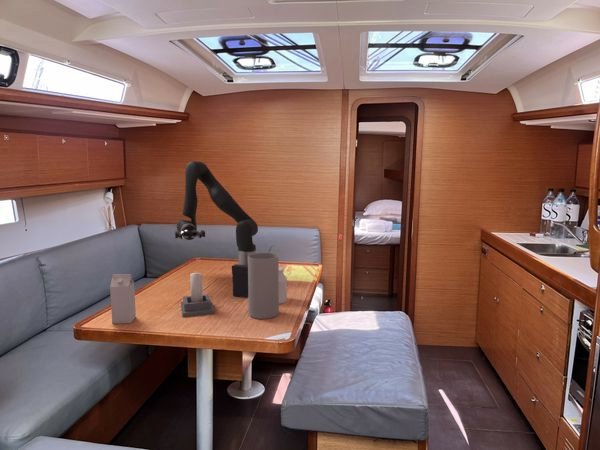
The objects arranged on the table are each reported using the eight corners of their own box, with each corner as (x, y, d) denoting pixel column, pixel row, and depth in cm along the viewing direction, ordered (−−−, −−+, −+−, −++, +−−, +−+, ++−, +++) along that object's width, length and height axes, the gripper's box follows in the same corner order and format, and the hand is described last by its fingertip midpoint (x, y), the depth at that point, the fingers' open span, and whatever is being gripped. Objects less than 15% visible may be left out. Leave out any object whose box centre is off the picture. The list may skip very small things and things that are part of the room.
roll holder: (210, 302, 198) (210, 292, 198) (214, 313, 183) (214, 303, 183) (180, 305, 195) (180, 295, 194) (182, 317, 179) (182, 306, 179)
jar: (260, 303, 197) (259, 270, 195) (263, 296, 207) (263, 265, 205) (285, 304, 196) (285, 271, 194) (288, 297, 206) (288, 266, 204)
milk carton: (118, 317, 179) (115, 272, 176) (135, 317, 179) (133, 272, 177) (112, 323, 172) (109, 276, 169) (130, 323, 172) (128, 276, 170)
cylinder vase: (281, 318, 178) (281, 258, 175) (251, 321, 175) (250, 260, 171) (274, 308, 190) (274, 252, 187) (246, 311, 187) (245, 253, 183)
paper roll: (202, 303, 192) (201, 272, 190) (203, 307, 187) (202, 275, 185) (190, 304, 190) (190, 273, 188) (191, 308, 186) (190, 276, 183)
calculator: (257, 296, 207) (256, 265, 205) (253, 298, 203) (252, 267, 201) (236, 294, 211) (235, 263, 209) (232, 296, 207) (231, 265, 205)
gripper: (174, 224, 220) (175, 229, 205) (202, 223, 225) (206, 228, 209) (174, 239, 221) (175, 245, 206) (203, 238, 226) (206, 243, 210)
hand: (191, 236), depth 208 cm, fingers open, 8 cm apart
